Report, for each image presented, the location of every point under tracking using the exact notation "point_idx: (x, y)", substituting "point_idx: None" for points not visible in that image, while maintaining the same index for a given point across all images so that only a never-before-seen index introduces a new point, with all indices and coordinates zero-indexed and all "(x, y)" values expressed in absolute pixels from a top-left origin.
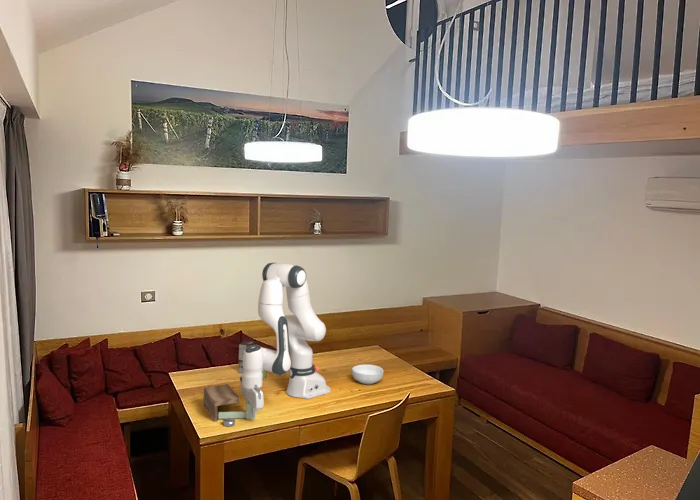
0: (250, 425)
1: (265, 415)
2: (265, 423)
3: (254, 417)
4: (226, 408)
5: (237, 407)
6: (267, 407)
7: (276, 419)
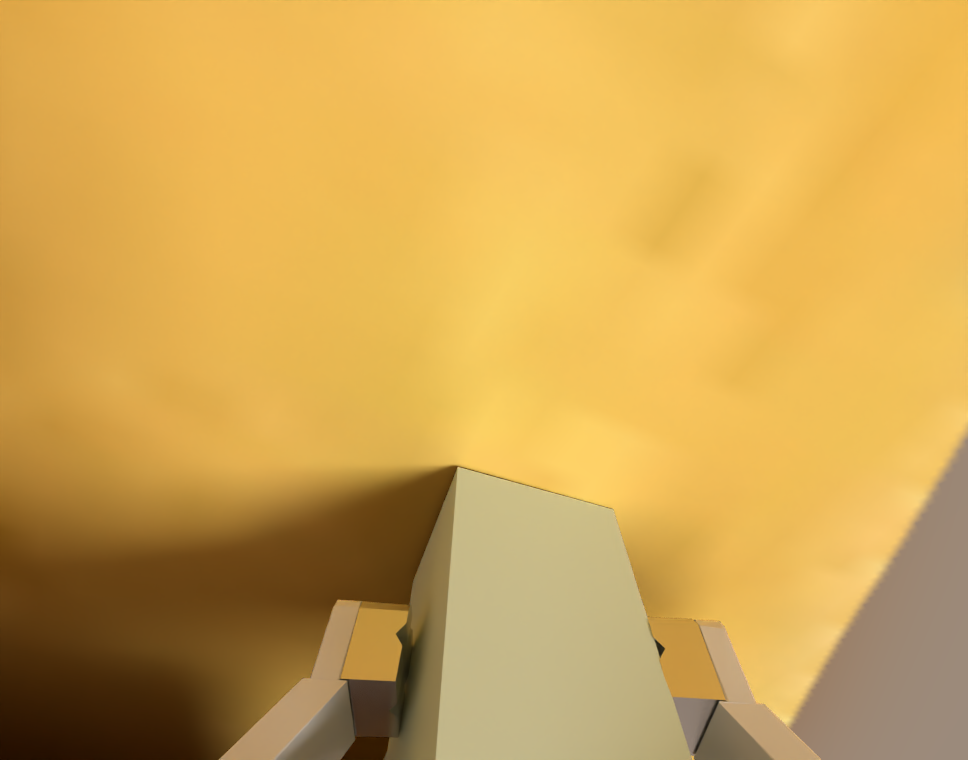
0: (778, 627)
1: (582, 294)
2: (911, 438)
3: (612, 538)
4: (75, 672)
5: (52, 567)
6: (125, 30)
7: (959, 144)
